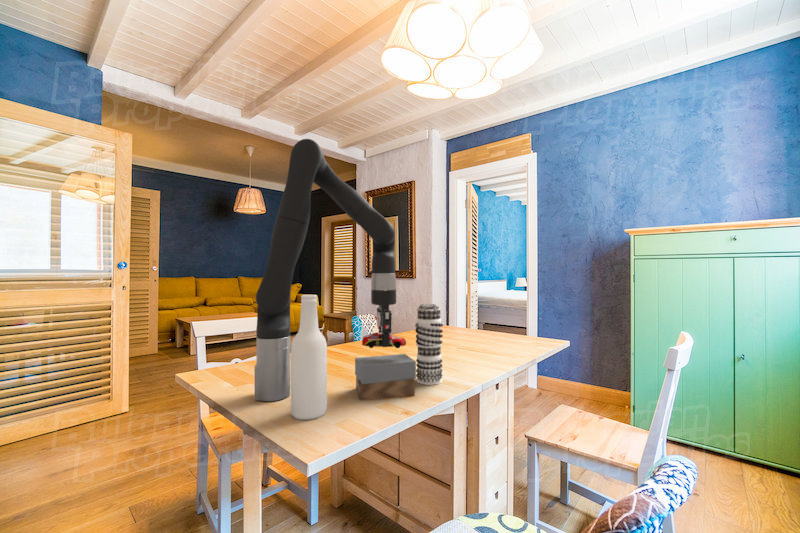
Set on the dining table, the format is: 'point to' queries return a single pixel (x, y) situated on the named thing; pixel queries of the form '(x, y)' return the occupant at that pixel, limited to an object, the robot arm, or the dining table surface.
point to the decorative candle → (429, 345)
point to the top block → (385, 368)
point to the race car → (376, 340)
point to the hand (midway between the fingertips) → (384, 344)
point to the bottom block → (385, 389)
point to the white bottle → (308, 365)
